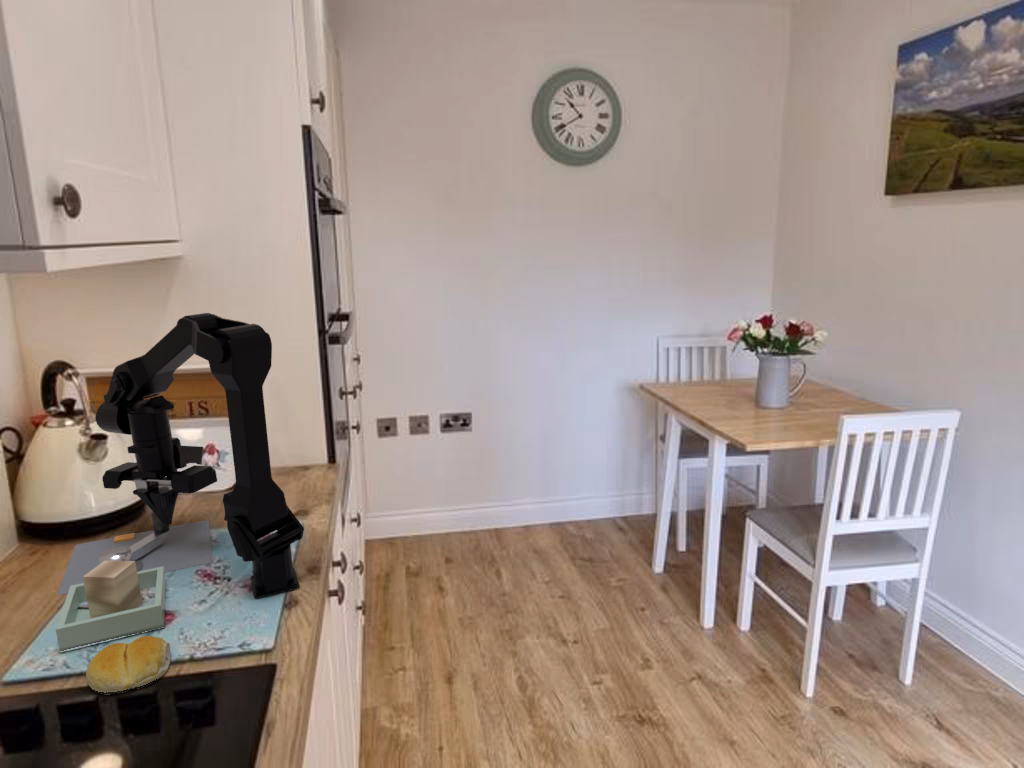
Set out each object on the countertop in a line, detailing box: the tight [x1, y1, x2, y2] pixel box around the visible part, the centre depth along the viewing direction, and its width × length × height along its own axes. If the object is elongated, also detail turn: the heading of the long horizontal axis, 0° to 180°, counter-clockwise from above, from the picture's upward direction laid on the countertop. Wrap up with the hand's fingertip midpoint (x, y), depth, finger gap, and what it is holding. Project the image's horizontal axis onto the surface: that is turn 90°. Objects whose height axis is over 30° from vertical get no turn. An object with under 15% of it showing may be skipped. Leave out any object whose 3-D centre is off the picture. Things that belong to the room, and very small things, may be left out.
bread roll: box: [85, 635, 172, 693], centre depth 80 cm, size 8×9×4 cm
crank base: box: [56, 519, 213, 597], centre depth 109 cm, size 18×21×1 cm
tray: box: [55, 566, 167, 652], centre depth 92 cm, size 12×12×4 cm
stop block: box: [83, 560, 143, 618], centre depth 92 cm, size 4×4×7 cm
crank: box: [98, 511, 170, 564], centre depth 107 cm, size 13×4×5 cm, turn 167°
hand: (168, 525), depth 111 cm, fingers closed
